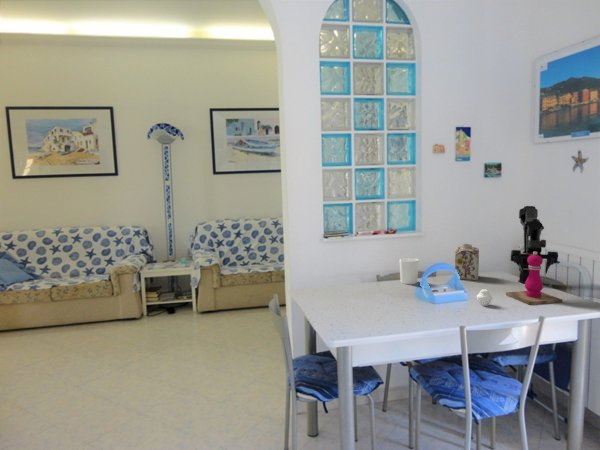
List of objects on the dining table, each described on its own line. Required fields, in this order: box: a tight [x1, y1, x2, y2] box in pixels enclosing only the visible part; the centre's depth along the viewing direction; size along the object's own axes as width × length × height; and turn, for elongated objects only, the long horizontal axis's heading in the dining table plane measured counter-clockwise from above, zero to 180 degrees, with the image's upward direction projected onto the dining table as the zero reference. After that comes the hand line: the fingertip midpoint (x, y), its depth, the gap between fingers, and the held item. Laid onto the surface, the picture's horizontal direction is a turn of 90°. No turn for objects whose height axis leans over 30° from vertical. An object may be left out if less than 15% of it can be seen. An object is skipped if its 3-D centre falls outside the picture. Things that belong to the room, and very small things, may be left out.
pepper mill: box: [524, 251, 544, 297], centre depth 200 cm, size 7×7×20 cm
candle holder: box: [398, 257, 420, 285], centre depth 234 cm, size 10×10×12 cm
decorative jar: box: [454, 243, 480, 281], centre depth 242 cm, size 12×12×18 cm
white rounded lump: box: [476, 288, 493, 307], centre depth 193 cm, size 6×6×7 cm
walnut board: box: [505, 290, 563, 306], centre depth 201 cm, size 16×16×1 cm
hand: (534, 272), depth 199 cm, fingers open, 9 cm apart
